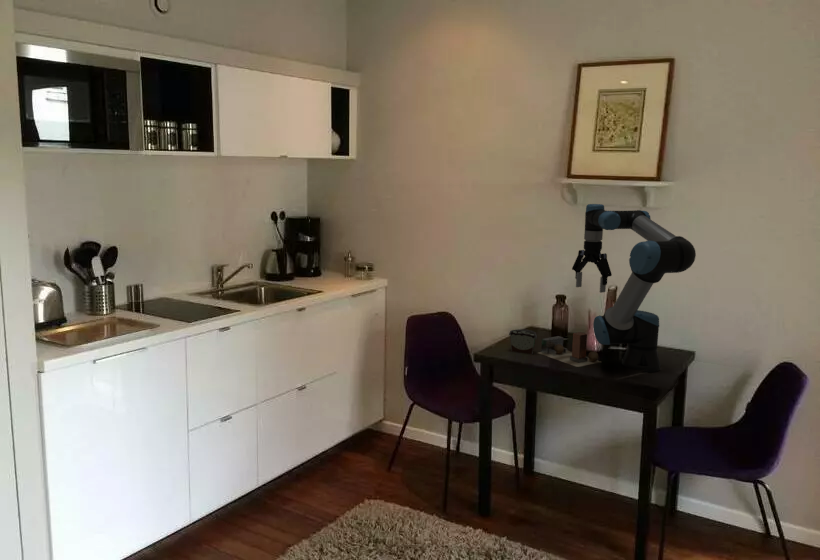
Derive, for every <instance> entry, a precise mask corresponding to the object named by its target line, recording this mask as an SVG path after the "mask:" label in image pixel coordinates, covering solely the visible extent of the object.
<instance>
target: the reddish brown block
mask: <svg viewBox="0 0 820 560" xmlns="http://www.w3.org/2000/svg"><path fill="white" fill-rule="evenodd" d="M587 341H588V333H584V332H581V331H577V332H573V334H572V347H571V348H572V349H571V352H572V356H570V360H572V361H575V362H578V363H580V362H585V361H588V356H587V344H588V343H587Z"/></svg>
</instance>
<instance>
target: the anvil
mask: <svg viewBox="0 0 820 560" xmlns="http://www.w3.org/2000/svg"><path fill="white" fill-rule="evenodd" d="M557 344H560V345H562V346H563V347H564V337H563V336H561V335H557V336H552V337H545V338H541V347H540V349H541V350H540V352H542V353H545V354H551V355H553V356H556V351H555V350H554V347H555V345H557ZM567 351H568V348H566V347H564V351H563V352H562V353H565V354H566V353H567Z"/></svg>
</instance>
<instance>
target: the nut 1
mask: <svg viewBox="0 0 820 560" xmlns="http://www.w3.org/2000/svg"><path fill="white" fill-rule="evenodd" d="M564 348H565V347H564V345H563V346H562V345H560V344H557V345H555V347H554V350H555V351H556V353H557V354H561V353H562V352H563V351H564Z"/></svg>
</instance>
